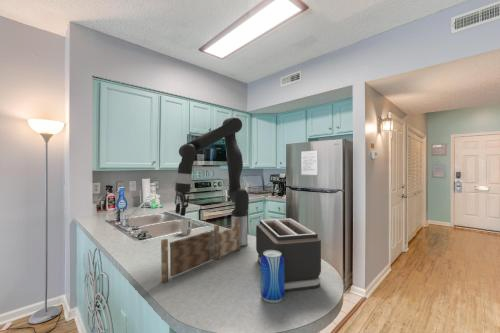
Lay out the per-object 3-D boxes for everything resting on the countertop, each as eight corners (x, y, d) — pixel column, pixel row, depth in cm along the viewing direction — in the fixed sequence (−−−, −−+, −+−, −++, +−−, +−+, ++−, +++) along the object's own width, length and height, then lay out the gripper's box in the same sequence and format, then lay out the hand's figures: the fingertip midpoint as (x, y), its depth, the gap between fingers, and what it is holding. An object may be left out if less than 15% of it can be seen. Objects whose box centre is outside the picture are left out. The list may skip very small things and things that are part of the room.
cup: (189, 236, 158) (188, 221, 158) (177, 235, 160) (177, 220, 160) (194, 232, 166) (194, 218, 166) (183, 231, 168) (183, 217, 167)
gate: (212, 257, 119) (212, 229, 119) (215, 258, 117) (215, 230, 117) (170, 275, 100) (169, 242, 100) (172, 277, 99) (172, 243, 99)
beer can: (259, 291, 89) (259, 249, 89) (281, 290, 90) (281, 248, 89) (262, 305, 81) (262, 258, 80) (286, 303, 81) (286, 257, 81)
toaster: (290, 254, 126) (289, 216, 125) (323, 287, 92) (323, 235, 92) (254, 257, 121) (254, 218, 121) (276, 293, 88) (276, 239, 87)
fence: (237, 248, 134) (236, 218, 133) (240, 249, 132) (240, 219, 132) (160, 281, 97) (159, 240, 97) (163, 283, 95) (163, 241, 95)
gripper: (195, 184, 118) (191, 216, 117) (186, 182, 130) (182, 212, 129) (180, 182, 114) (176, 216, 113) (172, 181, 126) (168, 212, 125)
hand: (179, 214), depth 121 cm, fingers open, 8 cm apart
